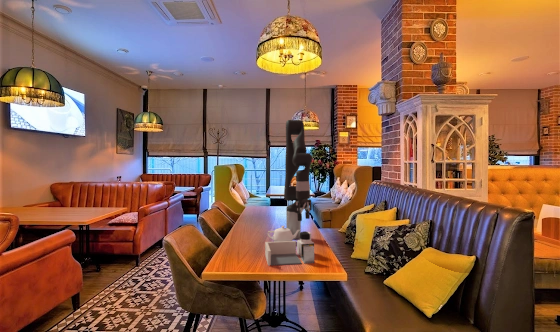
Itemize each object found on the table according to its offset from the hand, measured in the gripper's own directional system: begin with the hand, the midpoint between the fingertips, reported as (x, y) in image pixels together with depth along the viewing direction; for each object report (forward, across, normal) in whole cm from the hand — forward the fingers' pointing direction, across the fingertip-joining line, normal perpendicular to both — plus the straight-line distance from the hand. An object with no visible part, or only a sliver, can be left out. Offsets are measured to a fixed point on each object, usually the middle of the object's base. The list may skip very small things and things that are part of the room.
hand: (303, 219), depth 159 cm
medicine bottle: (+18, +1, +1) cm, 18 cm away
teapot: (+17, -11, -21) cm, 29 cm away
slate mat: (+18, +15, -4) cm, 24 cm away
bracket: (+19, +9, +6) cm, 22 cm away
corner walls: (+18, +15, -4) cm, 24 cm away
